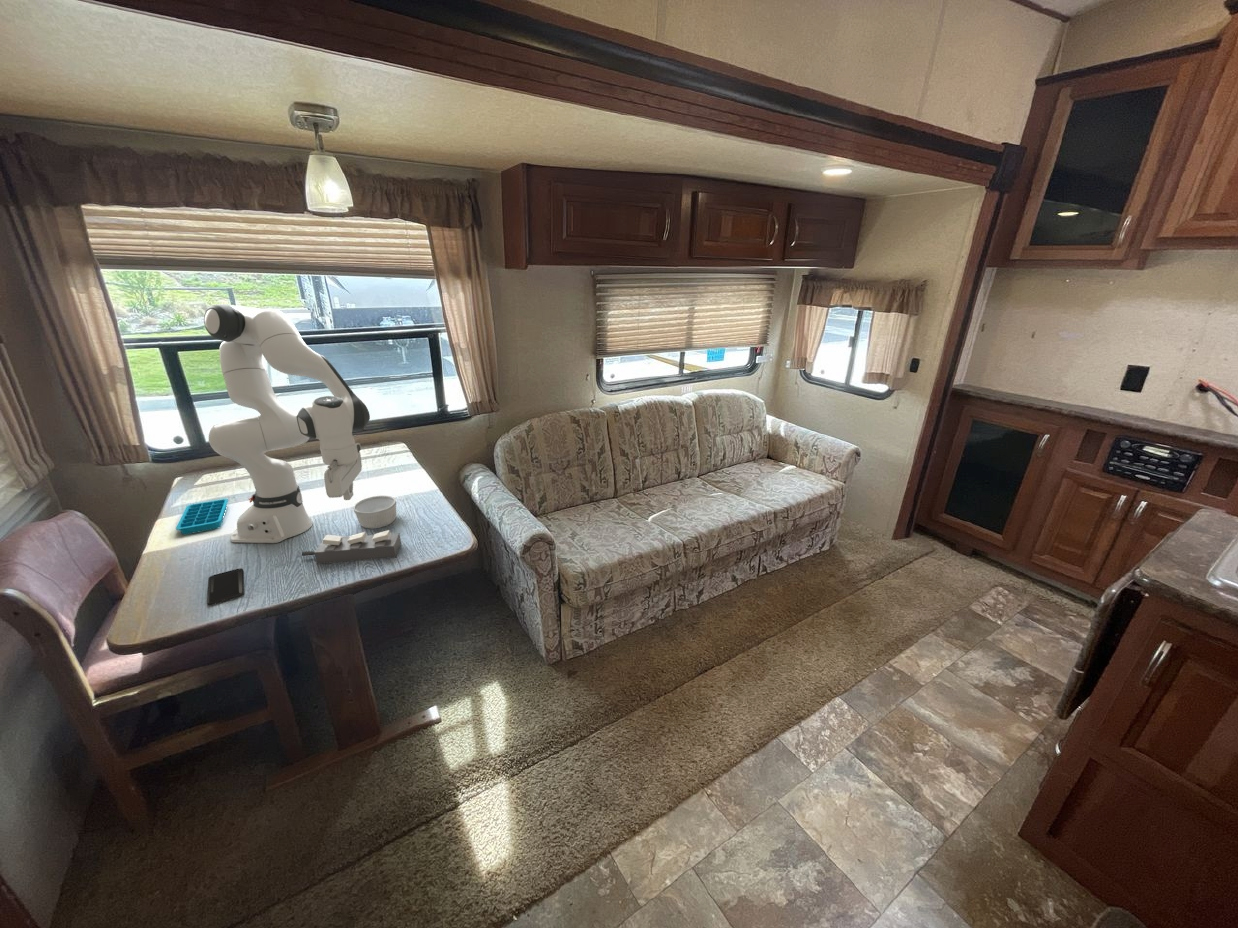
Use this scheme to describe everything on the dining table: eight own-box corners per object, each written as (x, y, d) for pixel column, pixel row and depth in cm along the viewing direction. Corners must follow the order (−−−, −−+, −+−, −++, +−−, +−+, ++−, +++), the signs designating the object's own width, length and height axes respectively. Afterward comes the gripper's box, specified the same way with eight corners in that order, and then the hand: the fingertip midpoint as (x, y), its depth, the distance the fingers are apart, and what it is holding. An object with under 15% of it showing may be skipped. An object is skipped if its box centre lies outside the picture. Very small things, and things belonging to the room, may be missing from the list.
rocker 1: (322, 543, 144) (322, 539, 144) (326, 538, 147) (326, 534, 147) (338, 545, 146) (339, 541, 145) (342, 540, 148) (342, 536, 148)
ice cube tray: (177, 537, 156) (174, 529, 155) (190, 512, 172) (187, 504, 171) (222, 529, 162) (220, 521, 161) (230, 505, 178) (228, 498, 177)
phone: (242, 567, 140) (243, 593, 129) (243, 570, 141) (244, 597, 130) (208, 576, 136) (205, 604, 125) (209, 579, 136) (207, 608, 125)
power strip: (298, 565, 143) (294, 552, 141) (308, 551, 150) (305, 538, 148) (395, 557, 148) (393, 544, 146) (401, 543, 155) (399, 531, 154)
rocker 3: (374, 542, 148) (372, 538, 147) (376, 537, 150) (374, 533, 150) (388, 538, 148) (386, 534, 147) (390, 533, 151) (389, 529, 150)
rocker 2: (349, 544, 146) (347, 540, 146) (352, 539, 149) (350, 535, 148) (364, 540, 147) (362, 536, 146) (366, 535, 149) (364, 531, 149)
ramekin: (353, 532, 161) (349, 514, 158) (361, 514, 173) (357, 497, 170) (395, 528, 164) (392, 510, 162) (401, 510, 176) (398, 493, 174)
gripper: (340, 467, 128) (349, 513, 134) (362, 442, 147) (369, 483, 152) (313, 468, 127) (324, 515, 132) (339, 442, 146) (348, 484, 151)
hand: (349, 498), depth 142 cm, fingers closed
